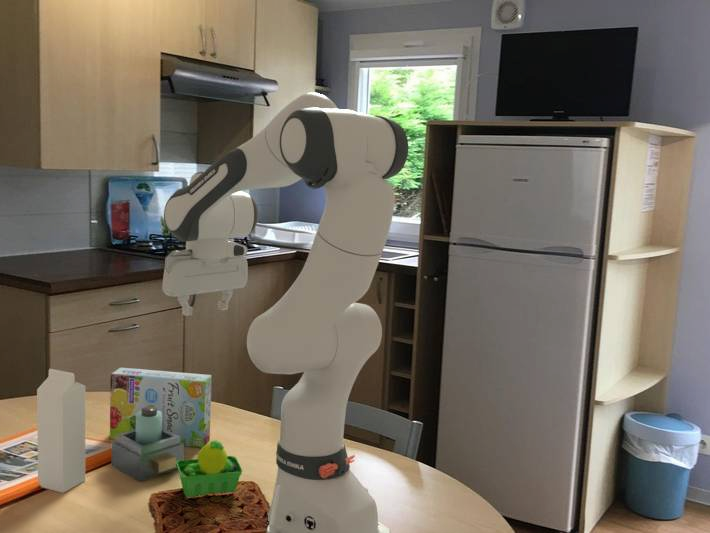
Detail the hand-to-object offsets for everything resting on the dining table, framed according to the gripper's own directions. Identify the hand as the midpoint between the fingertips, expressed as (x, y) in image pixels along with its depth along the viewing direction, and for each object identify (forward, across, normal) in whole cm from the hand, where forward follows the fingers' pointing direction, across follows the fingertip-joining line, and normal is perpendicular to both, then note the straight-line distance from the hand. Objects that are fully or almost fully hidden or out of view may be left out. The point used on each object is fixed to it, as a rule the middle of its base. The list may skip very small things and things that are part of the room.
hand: (205, 312), depth 159 cm
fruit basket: (+29, -14, -20) cm, 38 cm away
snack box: (+29, -6, +7) cm, 31 cm away
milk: (+29, -32, +1) cm, 43 cm away
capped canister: (+24, -16, -3) cm, 29 cm away
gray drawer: (+29, -16, -3) cm, 33 cm away
